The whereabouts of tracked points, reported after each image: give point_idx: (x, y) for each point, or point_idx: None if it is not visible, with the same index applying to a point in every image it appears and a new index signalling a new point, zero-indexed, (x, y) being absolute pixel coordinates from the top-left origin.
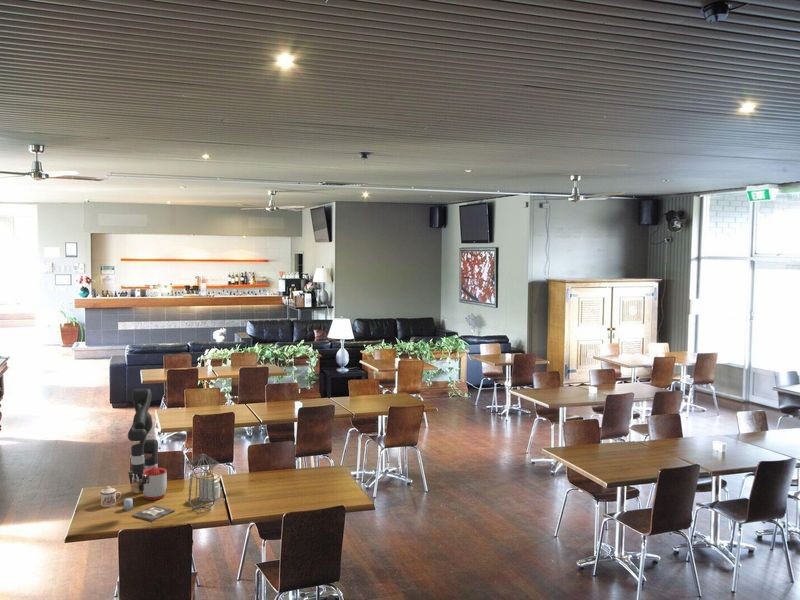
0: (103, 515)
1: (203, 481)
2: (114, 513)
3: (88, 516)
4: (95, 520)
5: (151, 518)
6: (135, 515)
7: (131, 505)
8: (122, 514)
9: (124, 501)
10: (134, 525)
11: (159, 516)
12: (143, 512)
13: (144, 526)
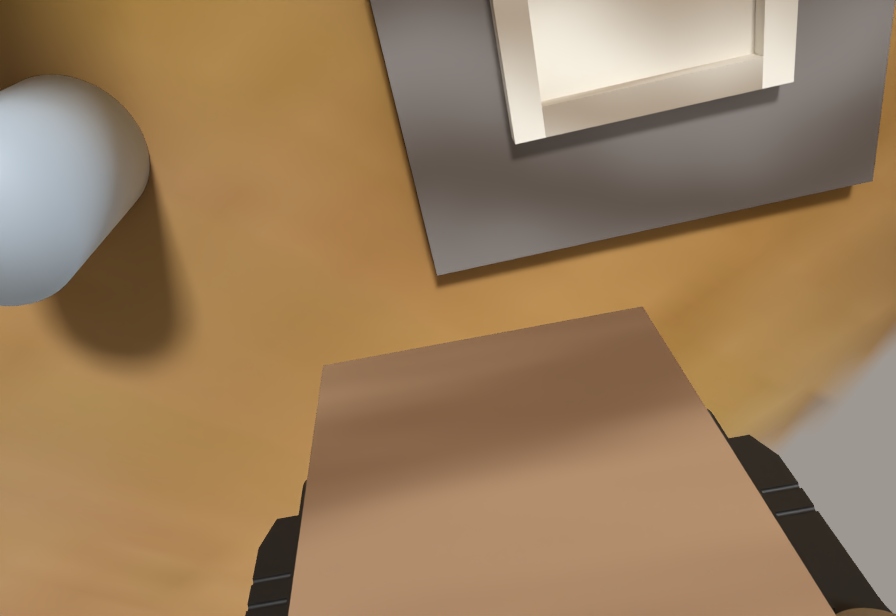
0: (127, 483)
1: None
2: (139, 373)
3: (55, 587)
4: (237, 581)
5: (821, 155)
6: (503, 259)
7: (111, 157)
8: (255, 320)
9: (16, 296)
10: (735, 385)
11: (886, 4)
12: (541, 138)
13: (876, 323)
